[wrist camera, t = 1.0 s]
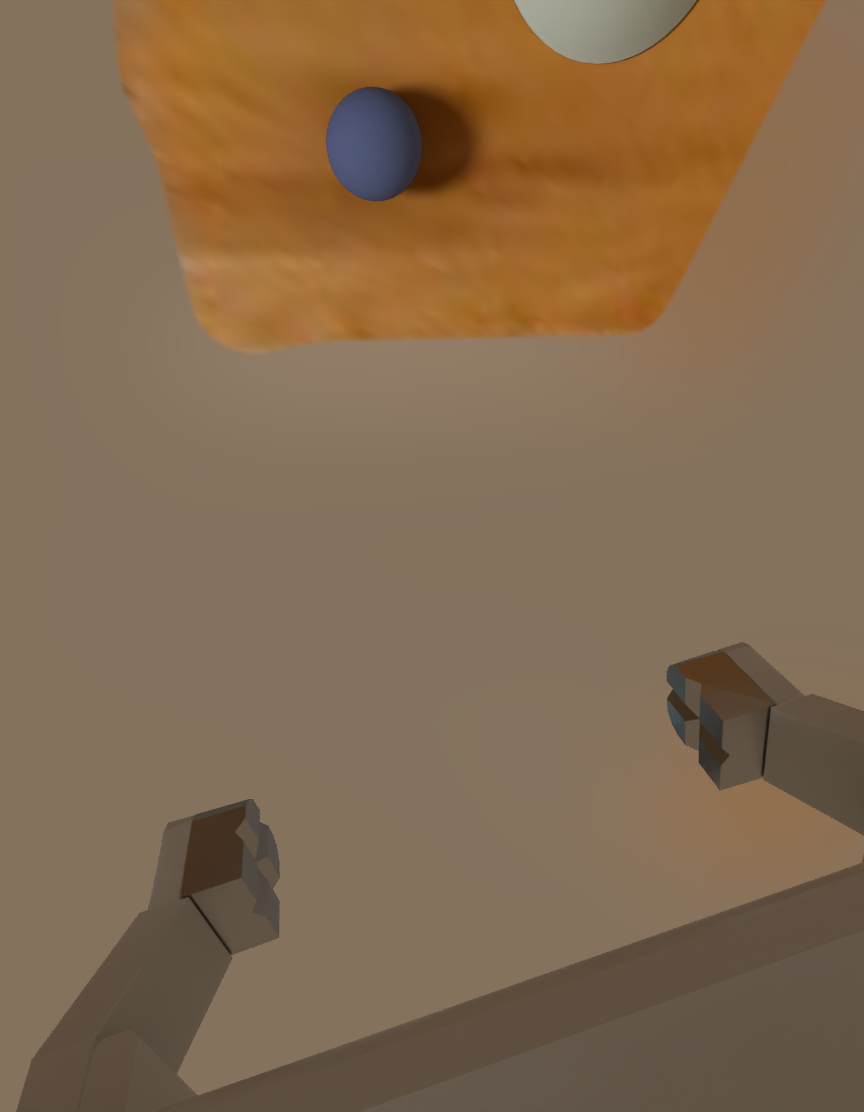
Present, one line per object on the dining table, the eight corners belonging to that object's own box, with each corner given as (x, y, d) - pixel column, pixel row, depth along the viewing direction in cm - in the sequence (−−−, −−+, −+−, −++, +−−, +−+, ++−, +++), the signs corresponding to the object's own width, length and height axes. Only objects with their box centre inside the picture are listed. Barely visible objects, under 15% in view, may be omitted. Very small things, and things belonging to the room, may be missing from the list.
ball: (377, 58, 36) (385, 64, 31) (433, 149, 39) (447, 165, 35) (306, 129, 37) (305, 142, 33) (365, 210, 40) (371, 232, 36)
